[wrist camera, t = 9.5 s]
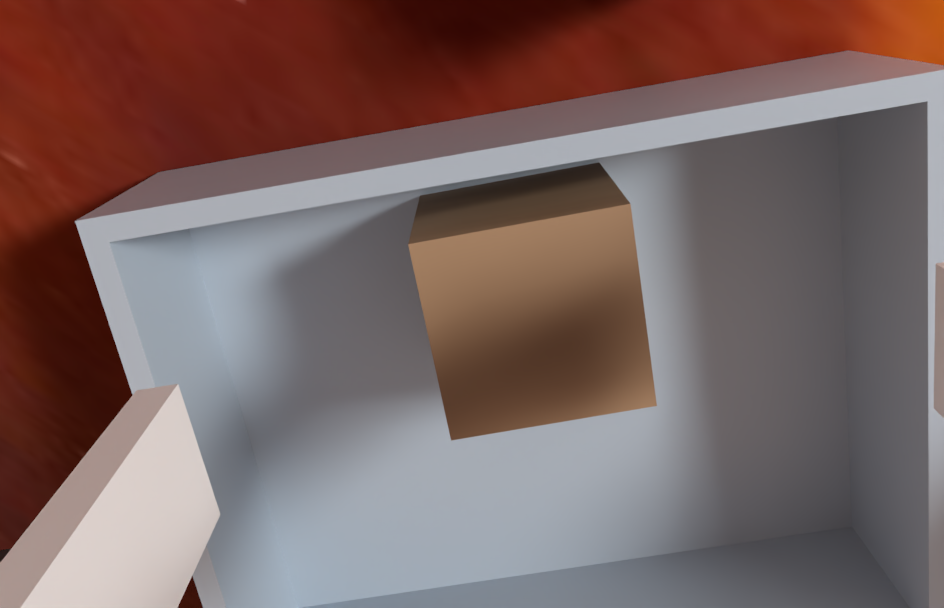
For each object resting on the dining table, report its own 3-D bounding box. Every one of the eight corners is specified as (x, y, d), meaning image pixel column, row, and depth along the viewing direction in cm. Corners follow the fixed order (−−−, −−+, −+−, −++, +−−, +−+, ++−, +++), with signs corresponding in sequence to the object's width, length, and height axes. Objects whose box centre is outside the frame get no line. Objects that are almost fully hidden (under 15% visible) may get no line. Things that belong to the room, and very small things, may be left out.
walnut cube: (419, 195, 25) (407, 244, 20) (599, 162, 24) (630, 203, 20) (454, 359, 26) (450, 440, 21) (622, 330, 26) (656, 405, 21)
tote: (158, 172, 25) (75, 221, 20) (848, 50, 24) (956, 67, 19) (288, 613, 30) (249, 747, 25) (863, 528, 29) (951, 649, 24)
